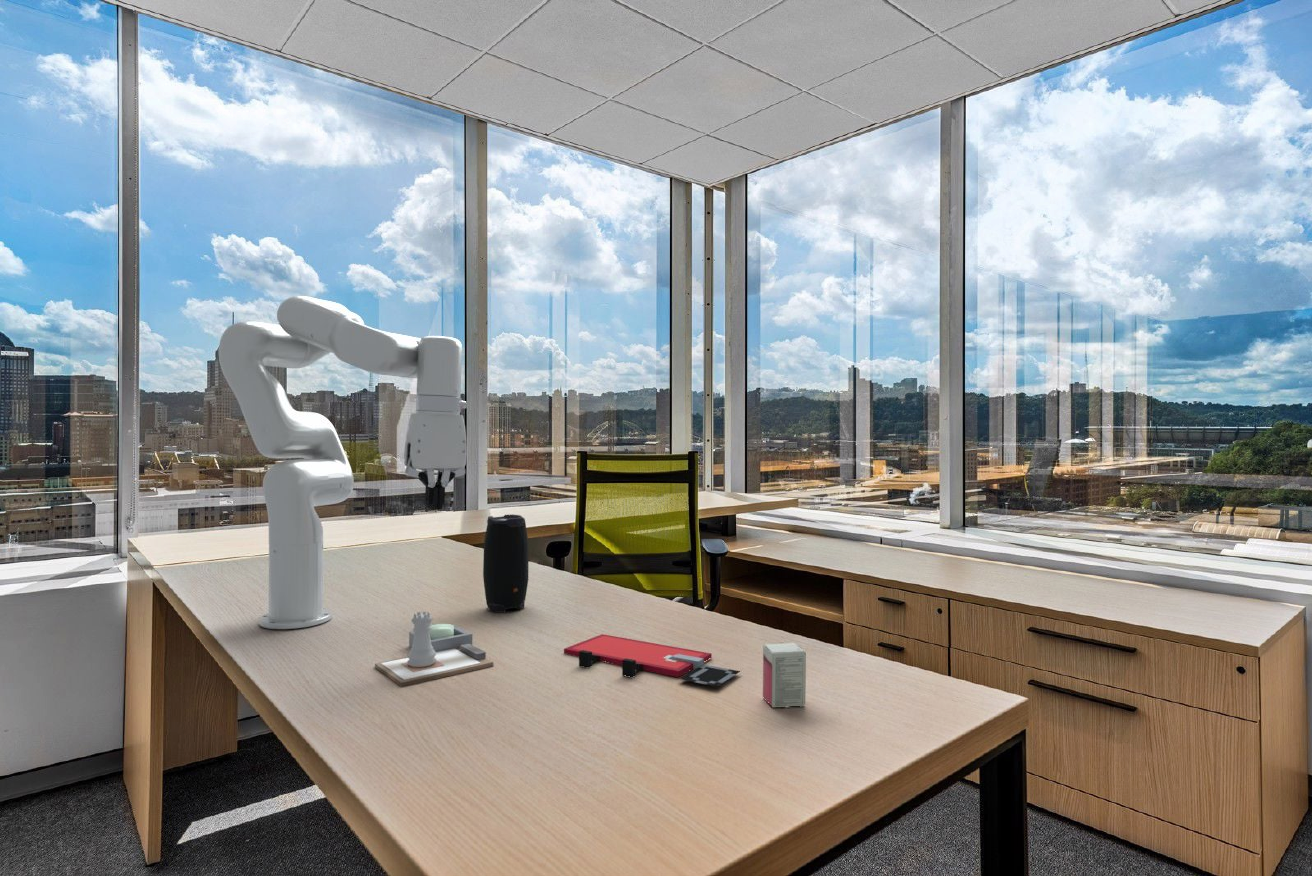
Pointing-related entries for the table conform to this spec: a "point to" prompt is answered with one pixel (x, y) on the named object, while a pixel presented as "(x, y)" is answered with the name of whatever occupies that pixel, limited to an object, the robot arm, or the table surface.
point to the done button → (441, 631)
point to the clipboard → (436, 665)
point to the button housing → (448, 640)
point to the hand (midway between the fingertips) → (434, 508)
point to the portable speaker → (505, 562)
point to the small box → (784, 674)
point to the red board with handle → (650, 659)
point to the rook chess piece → (421, 642)
